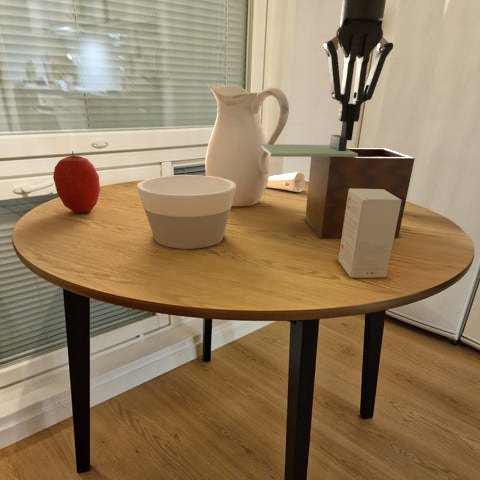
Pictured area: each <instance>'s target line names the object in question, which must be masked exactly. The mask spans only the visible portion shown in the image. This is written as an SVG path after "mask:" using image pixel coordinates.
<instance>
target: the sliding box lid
mask: <svg viewBox="0 0 480 480" xmlns="http://www.w3.org/2000/svg"><path fill="white" fill-rule="evenodd" d="M347 145H348V140H347V138H346V137H343V136H341V134H330V139H329V144H279V143H278V144H275V143H274V144H261V148H262V149H263V150H264V151H265V152H267V153H268V154H269V155H270V158H272V157H273V158H274V157H275V158H276V157H277V158H278V157H282V158H285V157H287V158H289V157H290V158H294V157H295V158H296V157H297V158H311V157H358V154H357V153H355V152H353V151H350V150H348V149H346V148H347Z"/></svg>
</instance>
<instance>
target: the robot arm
mask: <svg viewBox="0 0 480 480" xmlns="http://www.w3.org/2000/svg"><path fill="white" fill-rule="evenodd" d="M386 1H387V0H342V1H341V10H340V18H339V19H340V20H339V27H338V29H337V30H336V33H335V35H334V37H332V38H331V39H329V40H327V41H325V42H324V43H323V46H322V47H323V50H324V52H325V54H326V56H327V64H328V65H327V66H328V74H329V75H328V76H329V85H330V95H331V99H332V100H335V101H337V102H338V103H339V111H338V122H342V123H341V131H340V136H343V137H346V138H347V141H352V140H353V135H354V128H355V123H356V122H357V123H358V122H359V121H360V116H361V109H362V104H363V103H365V102H367V101H370V100H372V98H373V95H374V93H375V90H376V87H377V84H378V81H379V79H380V77H381V73H382V70H383V68H384V65H385V62H386V59H387V57H388V56H389V54H390V53H391V51H392V50H393V48H394V43H393V42H389V41H388V40H387V39H386V38H384V31H383V21H384V15H385V8H386V3H387V2H386ZM339 46H340V49H341V51H342V53H343V70H342V78H341V77H340V66H339V55H338V50H339ZM376 47H377V48H376ZM375 49H376V55H375V57H374V60H373V62H372V65H371V68H370V71H369V74H368V77H367V73H368V71H367V70H368V66H369V65H368V64H369V62H370V57H371V54H372V53H373V51H374V50H375ZM355 63H356V68H355ZM354 70H355V77H354ZM353 77H354V83H353ZM366 79H367V80H366ZM353 85H354V86H353ZM352 87H353V93H352ZM351 94H352V103H350V100H351Z"/></svg>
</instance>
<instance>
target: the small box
mask: <svg viewBox="0 0 480 480" xmlns="http://www.w3.org/2000/svg"><path fill="white" fill-rule="evenodd" d="M401 202H402V200H401V199H399V198H397V197H396V196H394V195H392V194H391V193H389V192H387V191H386V190H384V189H349V191H348V198H347V204H346V211H345V218H344V225H343V232H342V238H340V245H339V252H338V258H337V259H338V260H337V261H338V262H339V264H340V265H341V266H342V268H343V269H344V271H345V272H346V273H347V275H348V276H349V277H350V278H352V279H353V278H358V279H359V278H363V279H364V278H365V279H366V278H367V279H369V278H371V279H373V278H387V275H388V271H389V266H390V261H391V255H392V250H393V246H394V242H395V237H394V236H395V231H396V226H397V221H398V216H399V211H400V207H401Z"/></svg>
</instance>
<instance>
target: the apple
mask: <svg viewBox="0 0 480 480" xmlns="http://www.w3.org/2000/svg"><path fill="white" fill-rule="evenodd" d="M71 153H72V155H69V156H66V157H64V158H62V159H60V160H59V161H58V162H57V163H56V165H55V167H54V170H53V176H52V179H53V182H54V187H55V190H56V194H57V196H58V197H59V199H60V200H61V203H62V204H63V205H64V207H66V208H67V209H69V210H70V211H72V213H78V214H87V213H90V212H92V210H93V209H94V208H95V206H96V205H97V203H98V199H99V196H100V193H101V186H100V185H101V184H100V176H99V174H98V172H97V170H96V168H95V166H94V164H93V163H92V162H91V160H89V159H88V158H87V157H83V156H80V155H74V151H73V150H72V151H71Z"/></svg>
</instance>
